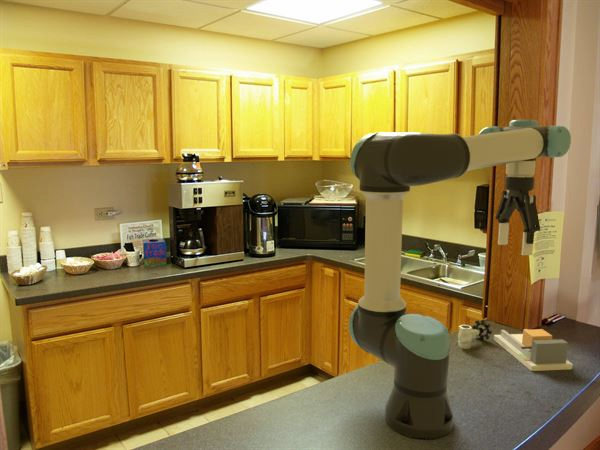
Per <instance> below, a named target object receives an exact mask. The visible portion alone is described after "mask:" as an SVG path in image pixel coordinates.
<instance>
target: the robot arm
mask: <svg viewBox="0 0 600 450" xmlns="http://www.w3.org/2000/svg"><path fill="white" fill-rule="evenodd" d="M508 125H509V126H497V125H495V126H493V125H492V126H487V127H484V128H482V129H481V130H480V131H479V132H478V134H476V135H475V134H474V135H466V136H462V135H460V134H458V133H446V134H442V133H441V134H439V133H427V132H426V133H425V132H418V131H417V132H416V131H408V132H406V131H405V132H404V131H403V132H401V131H398V132H395V131H394V132H389V131H387V132H385V131H380V132H372V133H368V134H365V135H364V136H362V137H361V138H360V139H359V140H358V141H357V142H356V143H355V145H354V147H353V148H352V150H351V154H350V162H349V165H350V170H351V173H352V174H354V176H355V178H356V179H357V180H359V193H361V194H362V195H363V196H364V198H365V224H364V225H365V233H364V234H365V235H364V236H365V237H364V239H365V241H364V244H365V245H364V287H363V288H364V292H363V293H364V295H362V296H361V297H360V298H358V299H359V300H358V301H357V306H355V307H354V309H353V310H352V311H353V312H352V313H351V314H350V316H349V318H348V319H349V320H348V332H349V336H350V338H351V339H352V341H353V342H354V344H356V345H357V346H358V347H359V348H360V349H362V350H363V351H364V352H365V353H367V354H370V355H372V356H375V358H378V359H379V360H381V361H383V362H384V363H386V364H388V365H390V366H391V367H393V368H394V371H393V373H394V374H393V386H392V389H391V390H390V394H389V396H388V399H387V401H386V404H385V406H384V420H385V422H386V423H388V424H387V425H388V426H389V427H390V428H391V429H392V428H393V429H392V430H394V431H395V432H397V433H399V434H401V435H404V436H406V437H409V436H411V437H410V438H413V437H415V438H414V439H418V438H423V439H422V440H433V439H432V438H435V439H439V437H440V438H442V436H443V437H444V436H447V435H448V434H450V432H451V431H452V430H453V429H454V428H453V427H454V411H453V409H452V406H451V403H450V399H449V396H448V390H447V388H448V378H449V364H450V362H449V361H450V352H451V351H450V350H451V343H450V332H449V330H448V328H447V326H446V325H444V324H443V322H441V321H439V320H438V319H436V318H434V317H431V316H428V315H422V314H419V313H407V302H406V301H405V299H403V297H401V281H402V280H401V279H402V277H401V274H402V271H401V270H402V247H403V246H402V245H403V244H402V240H403V205H404V204H403V203H404V198H405V197H406V196H407V195H408V194H409V193H410V192H411V191H410V190H411V187H418V186H424V185H431V184H433V183H439V182H442V181H447V180H452V179H453V180H454V179H457V178H461V177H462V176H464V175H465V174H466V173H467V172H469V171H475V170H479V169H485V168H490V167H491V168H492V167H495V166H501V165H505V175H507V176H505V179H504V189H505V190H502V194H501V195H502V196H501V199H500V202H499V205H498V207H497V211H496V214H495V220H497V221H498V234H497V235H498V237H497V245H499V246H500V245H501V246H506V245H508V243H509V242H508V241H509V229H510V219H511V217H512V215H513V214H514V211H515V210H516V211H517V212H518V213H519V215H520V218H521V222H522V224H523V228H524V229H523V230H522V245H521V253H520V254H521V256H533V251H534V241H535V233H536V232H540V230H541V225H540V219H539V214H538V208H537V196H536V195H531V194H530V193H529V192H530V191H533V190H534V186H535V177H534V176H535V173H536V167H537V165H536V161H537V159H540V158H549V159H552V158H562V157H564V156H565V155H567V153H568V152H569V150H570V147H571V142H572V140H571V139H572V137H571V133H570V130H569V129H568V128H567V127H566V126H563V125H555V124H554V125H553V124H552V125H539V121H538V120H535V119H512V120H511V121H509V124H508ZM424 438H425V439H424ZM428 438H429V439H428Z"/></svg>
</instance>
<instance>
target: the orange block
mask: <svg viewBox="0 0 600 450" xmlns="http://www.w3.org/2000/svg"><path fill="white" fill-rule="evenodd" d="M522 334H523V338H522V344H523V345H524V346H521V349H530V350H531V349H532V341H534V340H553V335H552V334H550V333H549V332H547V331H546V330H544V329H543V328H539V329H538V328H537V329H528V330H524V329H523V330H522Z"/></svg>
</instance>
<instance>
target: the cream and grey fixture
mask: <svg viewBox="0 0 600 450" xmlns="http://www.w3.org/2000/svg"><path fill="white" fill-rule="evenodd" d="M523 330H529V329H528V328H524V329H523ZM522 338H523V333H513V334H512V333H511V334H510V333H509V332H508V331H507V330H505V329H500V334H494V335H493V340H494V341H495V342H496V343H498V344H499V345H500V346H501V347H502V348H503V349H505V350H506V351H507V353H509V354H511V355H512V356H513V357H514V358H515V359H516V360H517V361H519V362H520V363H521V364H522V365H524V366H525V368H527V369H528V370H530V371H531V372H537V371H539V372H541V371H561V370H562V371H565V370H573V365H574V364H573V363H572V362H570V360H568V359H567V355H568V347H569V346H568V345H569V342H567V341H566V340H564V339H561V338H560V339H552V340H534V341H532V349H531V350H530V349H521V346H524V345H523V344H522Z"/></svg>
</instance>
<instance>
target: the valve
mask: <svg viewBox="0 0 600 450" xmlns="http://www.w3.org/2000/svg"><path fill="white" fill-rule="evenodd" d="M474 323H475V325H472V326H471V325H469V324H460V325H459V326H458V333H457V340H458V341H457V346H458V348H460V349H462V350H469V349H471V348H472V340H474V339H476V337H477V336H478V337H479V340H480V339H481V341H483V340H484V339H485V340H489V339H490V338H491V337H490V335H492V334H493V333H494V332H493V330H491V329H490V328H491V324H490V323H487V324H486V320H485V319H481V320H475V321H474ZM481 325H482V327H481ZM483 326H484V327H483ZM485 332H486V333H485ZM484 333H485V334H484Z"/></svg>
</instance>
